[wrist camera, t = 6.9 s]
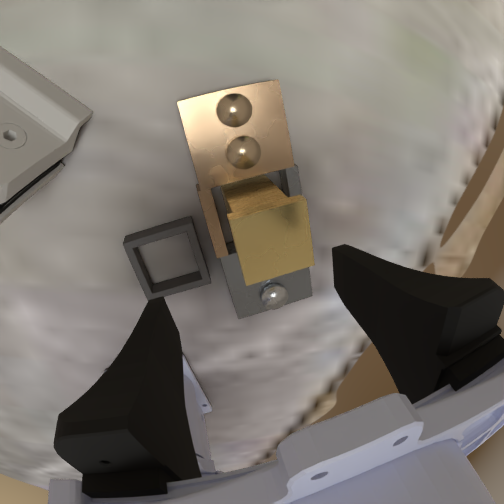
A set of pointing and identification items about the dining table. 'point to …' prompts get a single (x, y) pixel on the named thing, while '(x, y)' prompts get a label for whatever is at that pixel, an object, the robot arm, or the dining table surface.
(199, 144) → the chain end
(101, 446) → the robot arm
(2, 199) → the off-white striped device
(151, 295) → the gray square frame
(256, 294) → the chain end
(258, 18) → the dining table surface
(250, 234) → the pin
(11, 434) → the dining table surface
